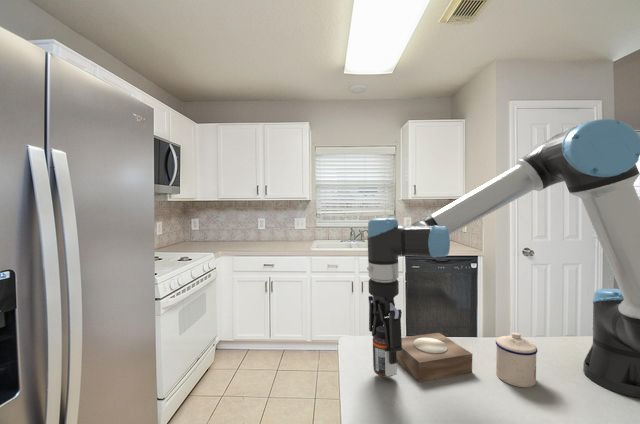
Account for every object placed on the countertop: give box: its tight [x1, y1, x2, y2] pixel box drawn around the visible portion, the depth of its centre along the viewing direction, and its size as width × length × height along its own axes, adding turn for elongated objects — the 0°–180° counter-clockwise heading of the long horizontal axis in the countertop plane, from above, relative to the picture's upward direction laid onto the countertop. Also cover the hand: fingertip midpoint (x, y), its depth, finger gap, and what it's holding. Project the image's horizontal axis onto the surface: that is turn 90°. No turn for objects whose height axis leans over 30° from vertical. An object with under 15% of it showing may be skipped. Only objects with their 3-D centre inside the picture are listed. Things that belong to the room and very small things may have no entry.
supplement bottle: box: [372, 325, 397, 378], centre depth 81 cm, size 6×6×11 cm
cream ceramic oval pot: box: [495, 332, 538, 388], centre depth 82 cm, size 12×9×12 cm
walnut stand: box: [396, 332, 473, 383], centre depth 88 cm, size 14×16×5 cm
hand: (384, 367), depth 81 cm, fingers closed on supplement bottle, 6 cm apart
